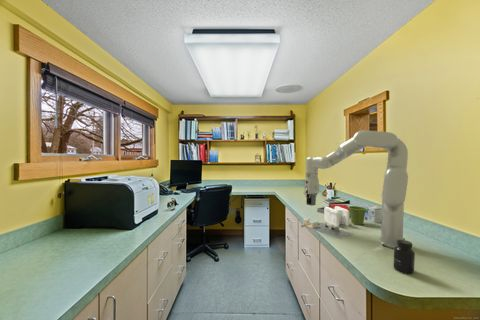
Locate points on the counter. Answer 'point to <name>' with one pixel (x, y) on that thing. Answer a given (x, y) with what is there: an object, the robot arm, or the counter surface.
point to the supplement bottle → (404, 257)
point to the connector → (313, 199)
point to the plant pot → (357, 214)
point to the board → (325, 228)
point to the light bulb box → (373, 213)
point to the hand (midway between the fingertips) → (311, 203)
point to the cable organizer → (336, 216)
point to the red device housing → (339, 206)
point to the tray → (323, 210)
